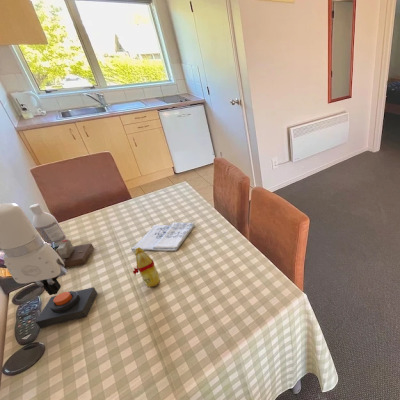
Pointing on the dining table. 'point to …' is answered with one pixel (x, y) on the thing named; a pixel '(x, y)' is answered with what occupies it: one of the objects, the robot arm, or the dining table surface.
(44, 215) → the bath foam
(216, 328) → the dining table surface
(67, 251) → the knob
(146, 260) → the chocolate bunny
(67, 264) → the dial panel
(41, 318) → the button housing
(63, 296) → the button
